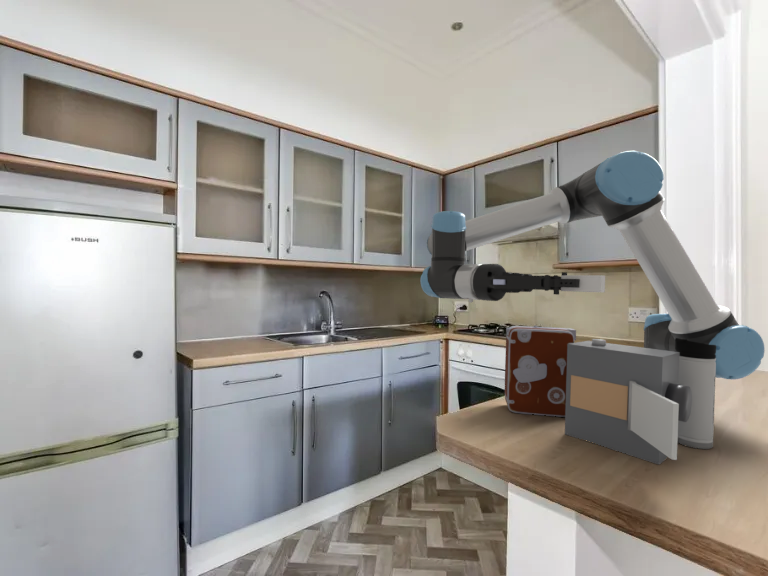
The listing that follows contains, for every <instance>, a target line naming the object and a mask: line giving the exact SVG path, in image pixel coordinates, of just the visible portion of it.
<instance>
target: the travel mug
mask: <svg viewBox="0 0 768 576" xmlns="http://www.w3.org/2000/svg"><path fill="white" fill-rule="evenodd" d="M675 349H676V350H675V352H680V356H679V385H684V386H689V387H690V388H691V391H692V408H691V413H690V416H689V419H688V421H687V422H683V421H678V441H677V444H679V443H680V444H679V445H681V444H682V446H684V445H686V446H685V447H688V446H689V447H688V448H692V447H693V449H697V448H698V449H697V450H699V449H700V450H709V449H712V448H713V447H714V431H715V430H714V426H715V423H714V422H715V403H716V402H715V401H716V399H715V397H716V377H715V375H716V362H715V361H716V355H715V353H716V345H710V344H704V343H700V342H694V341H687V339H681V338H676V339H675Z"/></svg>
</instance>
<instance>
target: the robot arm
mask: <svg viewBox="0 0 768 576" xmlns="http://www.w3.org/2000/svg"><path fill="white" fill-rule="evenodd" d="M664 179H665V177H664V170H663V169H662V166H661V164H660V163H659V162H658V160H656V159H655V158H654V157H653V156H652V155H649V154H648V153H647V152H646V153H645V152H644V151H637V150H626V151H623V152H622V151H621V152H620V153H617V154H615V155H612V156H610V157H608V158H606V159H605V160H603V161H602V162H600V163H598V164H597V165H596V166H594V167H592V168H590V169H589V170H587V171H584V172H583V173H582V174H581V175H579V176H577V177H576V178H574V179H572V180H570V181H568V182H566V183H564V184H562V185H559V186H556V187H553V188H552V189H551V190H550V192H549V193H547V194H544V195H541V196H538V197H535V198H531V199H529V200H526V201H525V200H524V201H522V202H519V203H516V204H512V205H510V206H507V207H503V208H501V209H499V210H495V211H492V212H488V213H485V214H483V215H480V216H477V217H473V218H471V219H470V218H469V219H467V220H466V215H465V213H463V212H460V211H455V210H445V211H443V210H442V211H437V212H436V213H434V214H433V215H432V221H431V222H432V223H431V226H430V227H431V233H430V234H429V236H428V237H427V240H426V249H427V252H428V253H429V254H430V256H431V261H430V265H429V266H426V267H425V268H424V269H423V270H422V274H421V276H420V280H419V281H420V286H421V289H422V291H423V292H424V293H425V294H426V295H427V296H429V297H432V298H438V299H453V300H454V299H455V300H456V299H457V300H468V302H469V303H473V302H474V301H475V300H476V301H477V300H478V301H480V300H481V301H485V302H486V301H487V302H490V301H491V302H498V301H500V300H502V299H503V298H504V297H505V295H506V294H508V293H509V294H511V293H512V294H515V293H516V294H519V293H530V292H531V293H532V292H533V290H536V291H538V290H541V291H547V292H548V291H553V295H557V296H559V295H560V292H573V293H574V292H576V293H577V292H579V293H582V292H583V293H584V292H585V293H606V292H605V291H606V275H601V274H600V275H599V274H598V275H593V274H591V275H589V274H588V275H585V274H584V275H582V274H581V275H579V274H578V275H571V274H570V275H568V272H566V271H565V272H561V276H560V275H556V274H555V275H551V274H550V275H549V274H544V275H533V274H531V273H521V272H511V271H509V272H508V271H506V269H505V267H504V266H502V265H501V264H499V263H471V264H468V263H467V264H466V263H465V261H466V259H465V252H466V251H467V252H468V251H470V250H473V249H476V248H479V247H483V246H485V245H490V244H492V243H495V242H499V241H502V240H505V239H508V238H511V237H514V236H517V235H520V234H524V233H526V232H530V231H533V230H537V229H539V228H542V227H545V226H548V225H549V226H550V225H553V224H554V223H559V224H561V225H565V224H568V223H573V222H574V221H579V220H585V219H591V218H597V217H602V218H603V220H604V221H605V223H606V224H607V227H609V228H612V229H613V228H614V229H617V230H618V231H619V232H620V233H621V235H622V237H623V238H624V240H625V242H626V245H627V246H628V247H629V249H630V251H631V252H632V254H633V255H634V257H635V259H636V261H637V263H638V264H639V266H640V269H642V271H643V273H644V274H645V276H646V278H647V280H648V281H649V283H650V285H651V287H652V288H653V290H654V291H655V293H656V295H657V296H658V298H659V300H660V302H661V303H662V305H663V307H664V309H665V310H666V312H667V313H653V314H649V315H648V316H646V318H645V320H644V327H643V333H644V334H643V348H650V349H658V350H666V351H674V352H675V350H676V349H675V339H676V338H681V339H687V341H694V342H700V343H704V344H710V345H716V353H715V355H716V361H715V362H716V375H715V379H716V378H718V379H720V378H721V379H726V380H733V381H734V380H740V379H744V378H746V377H748V376H750V375H751V374H753V373H754V372H755V371H756V370H757V369H758V368H759V367H760V365H761V363H762V359H763V358H764V355H765V343H764V341H763V338H762V336H761V334H759V333H758V332H757V330H755V329H753V328H752V327H749V326H747V325H744V324H741V325H740V324H739V323H738V321H737V320H736V318H735V317H734V315H733V313H732V311H731V309H729V307H727V306H724V305H719V304H717V303H716V300H715V299H714V297H713V296H712V294H711V293H710V291H709V289H708V287H707V285H706V284H705V282H704V280H703V279H702V278H701V275H700V273H699V272H698V270H697V269H696V267H695V265H694V264H693V262H692V260H691V258H690V257H689V255H688V253H687V251H686V250H685V249H684V246H683V245H682V243H681V241H680V239H679V238H678V237H677V235H676V233H675V231H674V230H673V228H672V226H671V224H670V223H669V221H668V219H667V218H666V216H665V215H664V212H663V211H662V207H663V205H664V202H665V200H666V199H665V197H664V195H663V194H662V192H661V190H662V188H663V186H664V185H663V184H664V183H663V181H664Z"/></svg>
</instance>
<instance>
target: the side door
mask: <svg viewBox="0 0 768 576" xmlns="http://www.w3.org/2000/svg"><path fill="white" fill-rule="evenodd" d="M678 412H679V404H678V403H676V402H674V401H672V400H669V399H667V398H665V397H663V396H661V395H659V394H657V393H655V392H653V391H651V390H649V389H647V388H645V387H643V386H640V385H638V384H636V382H635V381H629V408H628V430H630V431H633V432H634V433H636V434H637V435H639V436H640V437H641V438H643V439H644V440H645V441H647V442H648V443H650V444H651V445H652V446H654V447H655V448H656V449H658V450H659V451H661V452H662V453H663V454H665V455H666V456H667V457H668V459H671V460H673V461H677V460H678V443H677V441H678Z"/></svg>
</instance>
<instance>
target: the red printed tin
mask: <svg viewBox="0 0 768 576" xmlns="http://www.w3.org/2000/svg"><path fill="white" fill-rule="evenodd" d="M505 330H506V336H505V359H504V361H505V363H504V365H505V366H504V400H505V402H506V403H505V404H506V405H507V409H508V410H509V411H510V412H512V413H514V414H522V415H532V414H534V416H535V415H536V416H544V415H546V416H545V417H555V416H556V417H558V418H565V409H566V377H567V345H568V344H570V343H575V341H577V330H576V329H574V328H569V327H554V326H553V327H552V326H538V325H533V326H530V325H529V326H528V325H512V326H509V327H506V329H505Z"/></svg>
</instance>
